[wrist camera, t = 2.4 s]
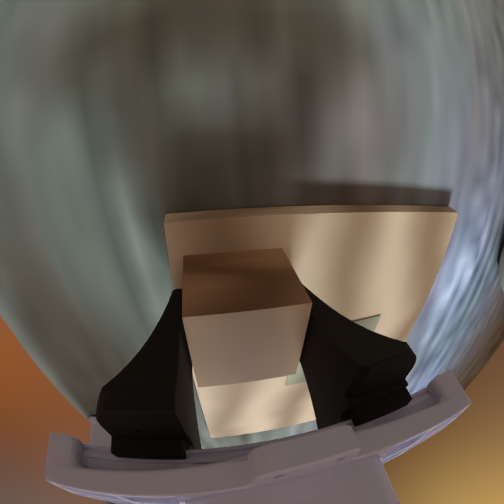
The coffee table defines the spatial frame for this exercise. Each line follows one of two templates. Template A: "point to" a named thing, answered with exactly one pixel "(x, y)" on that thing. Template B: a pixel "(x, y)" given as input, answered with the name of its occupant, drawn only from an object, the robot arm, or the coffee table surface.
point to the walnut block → (243, 316)
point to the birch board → (318, 283)
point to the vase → (501, 269)
